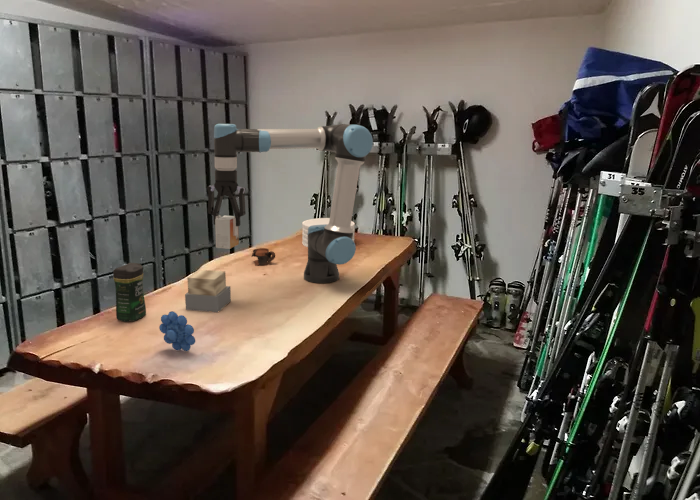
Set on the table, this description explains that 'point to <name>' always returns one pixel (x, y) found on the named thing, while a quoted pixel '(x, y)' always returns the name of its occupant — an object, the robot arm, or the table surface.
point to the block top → (206, 282)
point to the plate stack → (317, 221)
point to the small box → (225, 233)
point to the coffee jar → (129, 292)
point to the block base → (208, 301)
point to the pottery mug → (263, 256)
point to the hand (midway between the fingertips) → (227, 234)
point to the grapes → (177, 331)
